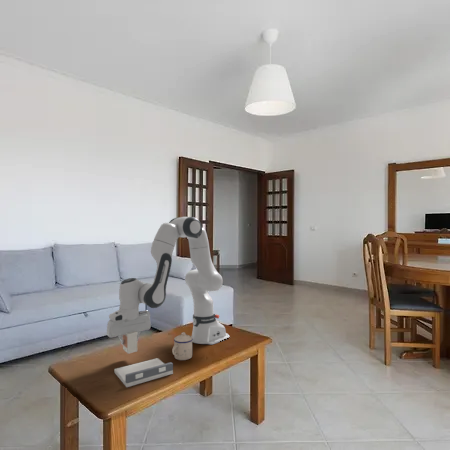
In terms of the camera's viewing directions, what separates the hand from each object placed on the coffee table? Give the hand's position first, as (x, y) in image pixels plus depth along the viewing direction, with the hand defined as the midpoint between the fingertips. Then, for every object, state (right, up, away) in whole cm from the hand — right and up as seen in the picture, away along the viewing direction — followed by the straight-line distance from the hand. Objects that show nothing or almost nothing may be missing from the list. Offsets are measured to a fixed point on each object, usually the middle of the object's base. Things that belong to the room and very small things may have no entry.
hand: (129, 342), depth 149 cm
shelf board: (+10, -8, -13) cm, 18 cm away
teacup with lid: (+24, -9, +4) cm, 26 cm away
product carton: (0, -4, 0) cm, 4 cm away
